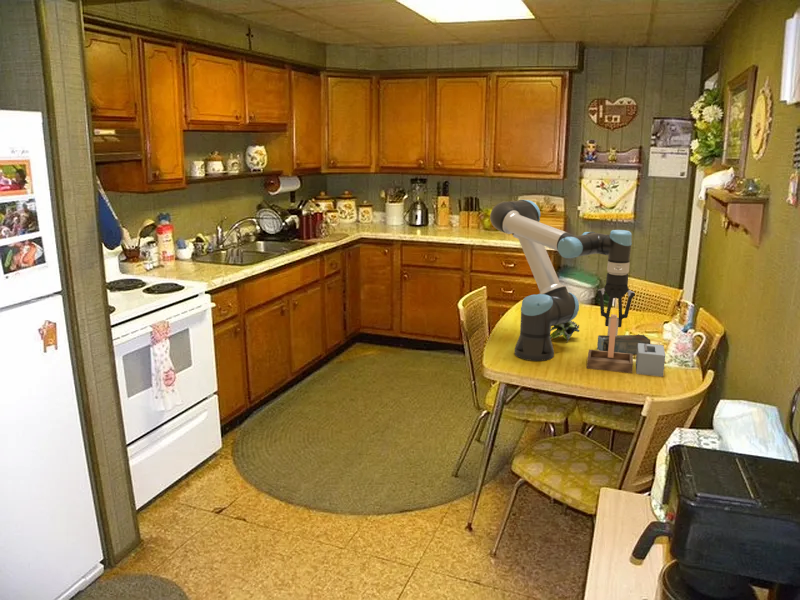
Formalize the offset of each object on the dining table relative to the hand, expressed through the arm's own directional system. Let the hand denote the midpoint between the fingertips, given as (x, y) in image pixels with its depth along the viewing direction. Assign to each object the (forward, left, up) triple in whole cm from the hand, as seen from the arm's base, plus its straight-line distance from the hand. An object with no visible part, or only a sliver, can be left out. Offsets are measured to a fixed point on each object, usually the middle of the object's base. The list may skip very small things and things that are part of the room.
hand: (612, 334), depth 240 cm
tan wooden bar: (0, 0, -8) cm, 8 cm away
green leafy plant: (-19, +26, -12) cm, 34 cm away
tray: (0, 0, -12) cm, 12 cm away
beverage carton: (+5, +19, -13) cm, 23 cm away
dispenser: (+14, 0, -12) cm, 18 cm away
